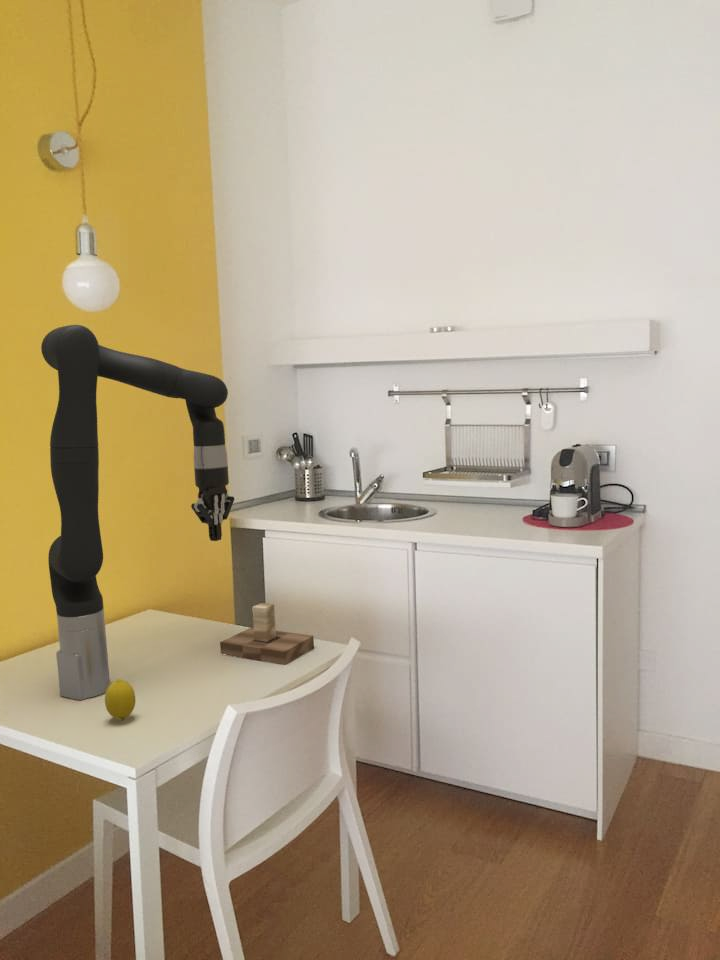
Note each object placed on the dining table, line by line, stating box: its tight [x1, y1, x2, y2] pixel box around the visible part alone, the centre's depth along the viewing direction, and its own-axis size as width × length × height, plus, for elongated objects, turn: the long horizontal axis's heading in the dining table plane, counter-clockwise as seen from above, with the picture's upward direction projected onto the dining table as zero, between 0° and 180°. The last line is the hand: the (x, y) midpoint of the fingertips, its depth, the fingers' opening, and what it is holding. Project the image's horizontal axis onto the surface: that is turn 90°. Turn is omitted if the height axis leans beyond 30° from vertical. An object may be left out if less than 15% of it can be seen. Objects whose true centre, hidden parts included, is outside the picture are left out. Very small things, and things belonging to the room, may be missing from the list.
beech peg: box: [251, 602, 277, 643], centre depth 192 cm, size 4×4×11 cm
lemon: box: [104, 679, 136, 721], centre depth 157 cm, size 6×6×8 cm
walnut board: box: [219, 626, 315, 666], centre depth 192 cm, size 12×18×3 cm, turn 61°
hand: (215, 540), depth 189 cm, fingers closed
